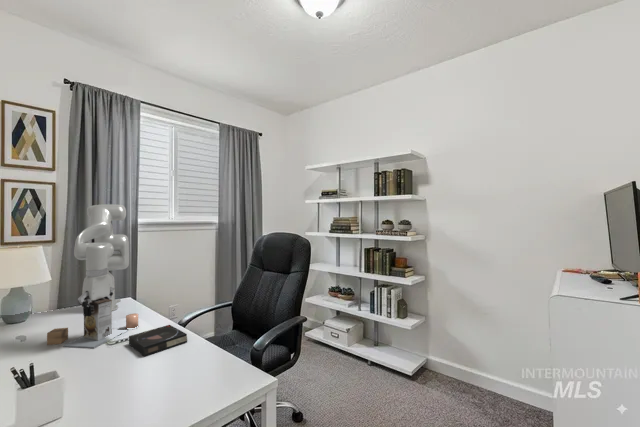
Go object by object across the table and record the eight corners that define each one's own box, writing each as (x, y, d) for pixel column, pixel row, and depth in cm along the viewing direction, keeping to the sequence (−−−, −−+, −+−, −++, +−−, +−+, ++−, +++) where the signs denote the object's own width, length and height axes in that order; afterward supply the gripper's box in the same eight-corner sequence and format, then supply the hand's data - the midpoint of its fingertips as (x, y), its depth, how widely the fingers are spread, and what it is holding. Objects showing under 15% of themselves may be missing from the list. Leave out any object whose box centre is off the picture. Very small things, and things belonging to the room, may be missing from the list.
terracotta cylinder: (131, 325, 146) (131, 313, 146) (140, 325, 145) (140, 313, 145) (123, 329, 141) (123, 316, 141) (133, 330, 141) (133, 317, 141)
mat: (100, 329, 141) (100, 328, 141) (127, 331, 139) (127, 329, 139) (63, 346, 123) (63, 345, 123) (94, 348, 121) (94, 346, 121)
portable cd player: (144, 358, 114) (144, 347, 114) (128, 345, 125) (128, 336, 125) (187, 343, 126) (187, 334, 126) (169, 333, 138) (169, 324, 138)
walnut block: (54, 340, 130) (54, 328, 130) (68, 339, 131) (68, 327, 131) (47, 345, 125) (47, 333, 125) (61, 343, 126) (61, 332, 126)
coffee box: (83, 338, 130) (82, 300, 130) (98, 332, 136) (98, 296, 136) (97, 341, 127) (97, 303, 127) (112, 335, 133) (112, 298, 133)
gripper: (105, 268, 140) (106, 305, 140) (70, 277, 123) (71, 318, 123) (120, 269, 139) (120, 306, 139) (87, 277, 122) (87, 319, 122)
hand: (97, 311), depth 131 cm, fingers open, 9 cm apart
